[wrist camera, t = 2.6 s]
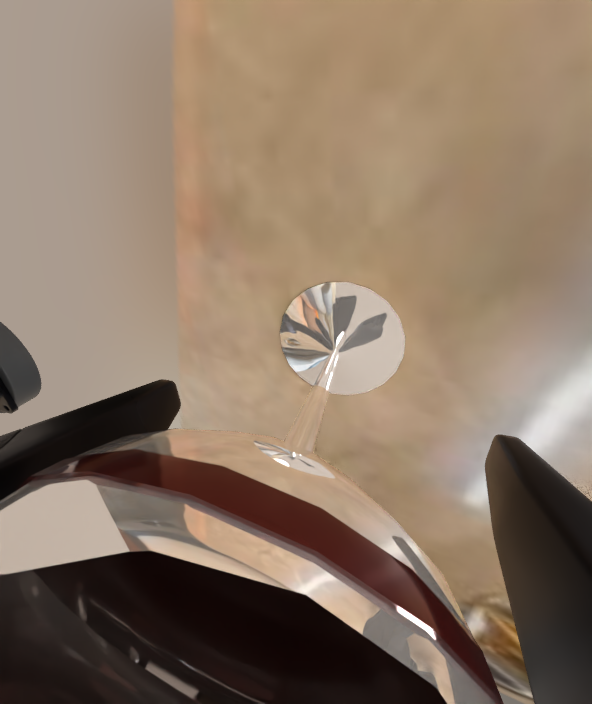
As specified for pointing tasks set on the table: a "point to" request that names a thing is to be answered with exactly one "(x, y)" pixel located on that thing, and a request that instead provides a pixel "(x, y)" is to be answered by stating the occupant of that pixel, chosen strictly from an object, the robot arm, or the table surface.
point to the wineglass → (233, 559)
